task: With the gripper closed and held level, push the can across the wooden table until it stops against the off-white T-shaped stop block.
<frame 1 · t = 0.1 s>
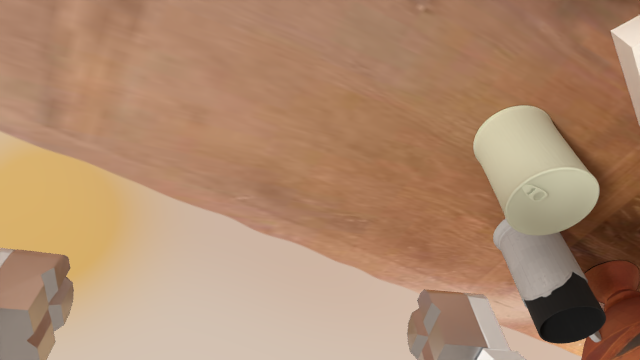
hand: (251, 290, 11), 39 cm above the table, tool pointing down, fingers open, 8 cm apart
glass holder: (534, 240, 68), on the table
can: (511, 137, 56), on the table
goblet: (605, 277, 73), on the table
T stop: (626, 81, 52), on the table
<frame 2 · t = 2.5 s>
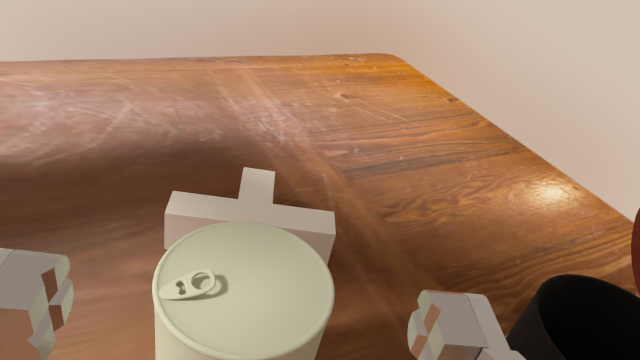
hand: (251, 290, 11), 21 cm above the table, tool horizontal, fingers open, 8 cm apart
T stop: (247, 258, 41), on the table
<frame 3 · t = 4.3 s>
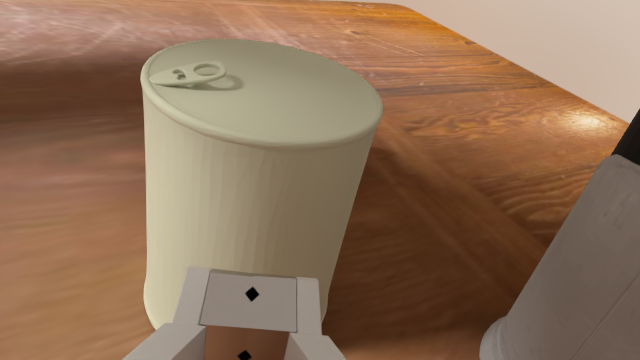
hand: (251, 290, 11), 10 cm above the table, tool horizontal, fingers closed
can: (238, 291, 24), on the table
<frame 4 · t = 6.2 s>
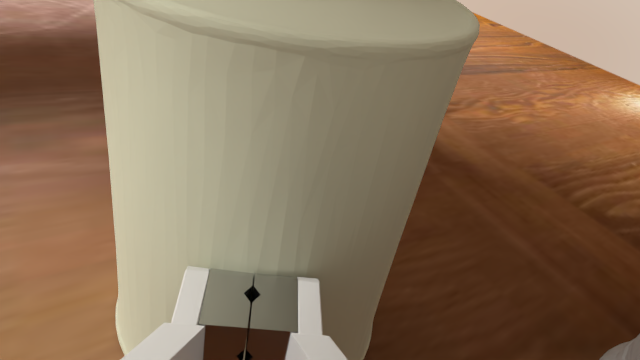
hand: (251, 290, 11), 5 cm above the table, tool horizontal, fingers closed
can: (249, 306, 18), on the table, touching gripper
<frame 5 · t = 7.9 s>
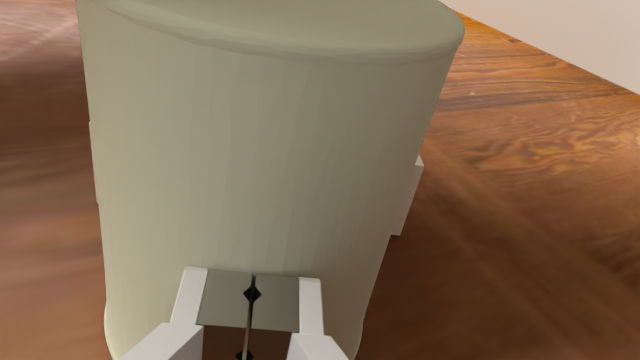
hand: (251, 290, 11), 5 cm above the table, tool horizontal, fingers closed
can: (239, 309, 18), on the table, touching gripper
T stop: (254, 219, 22), on the table
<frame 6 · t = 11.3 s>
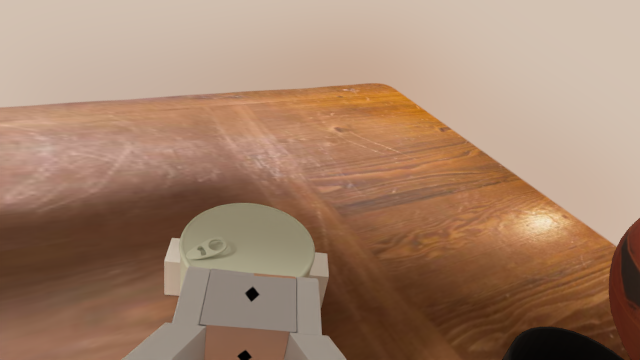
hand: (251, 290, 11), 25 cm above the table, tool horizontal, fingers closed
can: (235, 351, 38), on the table
T stop: (244, 301, 43), on the table
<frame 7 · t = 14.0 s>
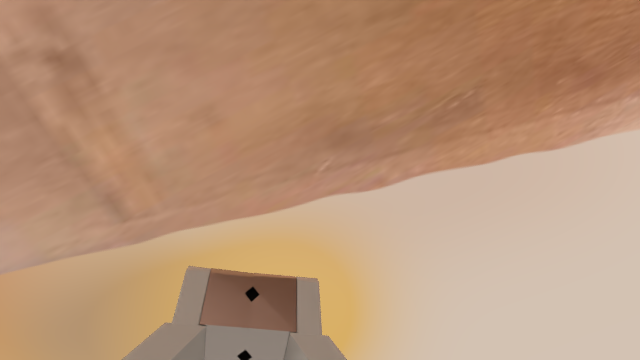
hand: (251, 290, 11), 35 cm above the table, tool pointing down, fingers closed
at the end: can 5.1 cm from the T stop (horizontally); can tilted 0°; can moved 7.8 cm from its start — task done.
